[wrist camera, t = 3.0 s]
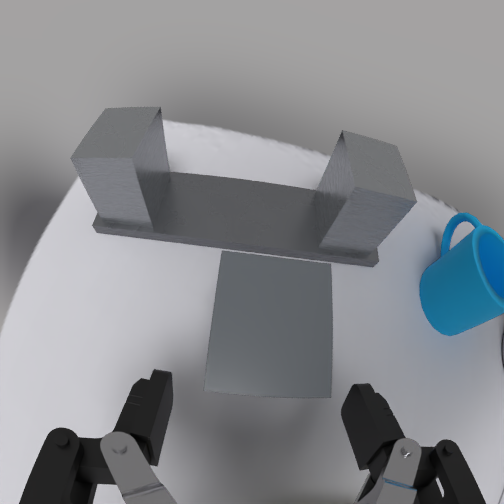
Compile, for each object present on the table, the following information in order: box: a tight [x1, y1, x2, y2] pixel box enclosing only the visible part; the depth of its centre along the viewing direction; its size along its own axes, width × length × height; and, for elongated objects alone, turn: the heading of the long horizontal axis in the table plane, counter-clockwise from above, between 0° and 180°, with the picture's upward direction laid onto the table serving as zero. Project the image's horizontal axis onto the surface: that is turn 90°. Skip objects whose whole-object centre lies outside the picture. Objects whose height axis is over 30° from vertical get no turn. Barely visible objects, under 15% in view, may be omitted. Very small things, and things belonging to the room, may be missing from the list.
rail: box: [71, 107, 417, 267], centre depth 21 cm, size 26×7×9 cm, turn 85°
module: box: [203, 251, 333, 398], centre depth 15 cm, size 5×6×10 cm
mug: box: [420, 213, 504, 336], centre depth 21 cm, size 12×8×8 cm
